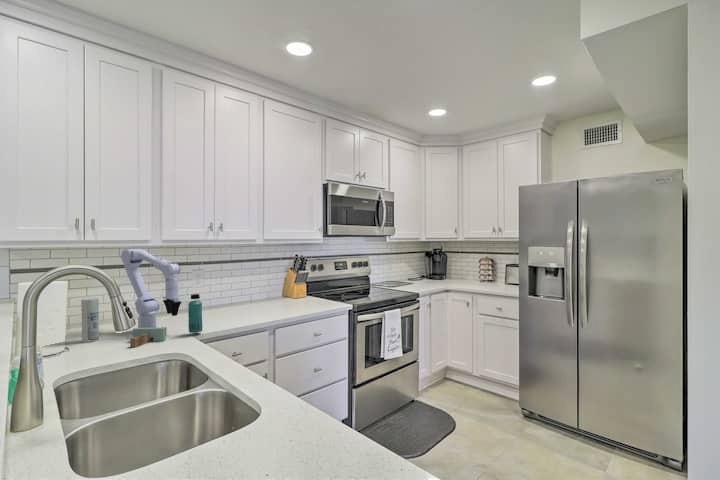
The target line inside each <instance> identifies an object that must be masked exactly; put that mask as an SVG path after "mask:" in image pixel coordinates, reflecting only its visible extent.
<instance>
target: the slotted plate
mask: <svg viewBox="0 0 720 480" xmlns="http://www.w3.org/2000/svg"><path fill="white" fill-rule="evenodd" d="M166 333H167V327H166V326H162V328H161V327H156V328H138V327H134V328H133V329H132V338H133V337H136V336H138V335H141V334H148V337H154V340H153V342H156V343H157V342H165V341H166V340H167V339H166V338H167V337H166V336H167V335H166Z"/></svg>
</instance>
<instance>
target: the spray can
mask: <svg viewBox="0 0 720 480" xmlns="http://www.w3.org/2000/svg"><path fill="white" fill-rule="evenodd" d="M99 301H100V300H99V297H85V298H82V299H81V301H80V302H81V304H80V305H81V306H80V307H81V308H80V309H81V337H82V338H81V339H82V343H84V344H86V343H95V342H98V341H99V340H100V330H99V329H100V327H99V326H100V322H99V321H100V319H99V316H100V314H99V313H100V312H99V311H100V310H99V309H100V308H99V305H100V303H99Z"/></svg>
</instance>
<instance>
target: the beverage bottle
mask: <svg viewBox="0 0 720 480" xmlns="http://www.w3.org/2000/svg"><path fill="white" fill-rule="evenodd" d="M200 297H201V296H200V294H199V293H194V294H191V295H190V300H191V301H190V302H188V303H187V304H188V308H187V309H188V315H187V316H188V332H189V333H190V334H196V333H200V332H202V331H203V302H202V301H200V300H198V299H201V298H200Z"/></svg>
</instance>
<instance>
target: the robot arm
mask: <svg viewBox="0 0 720 480" xmlns="http://www.w3.org/2000/svg"><path fill="white" fill-rule="evenodd" d="M120 259H121V261H122V264H123V266H124V270H125V272H126V274H127V277H128V280H129V282H130V284H131V287H132V288H133V290H134V293H135V295H136V297H137V299H136V301H135V302H134V305H135V311H136V313H137V314H138V318H137V323H138V324H137V328H157V314H158V311H159V310H160V308H161V305H160V301H158V299H156V297H155V296H154V295H152V294H151V293H150V292H149V290H148V288H147V286H146V283H145V281H144V279H143V277H142V274H141V272H140V270H139V267H140V266H141V264H142V263H143V262H144V261H145V262H147V263H150V264H152V266H153V268H155V269H157V270H159V271H160V272H162V274H163V278H164V283H165V287H164V288H165V290H164V291H165V293H164V295H165V296H162V299H163V300H162V302H163V304H164V306H165V310H166V314H168V315H169V314H170V315H172V317H174V316H175V317H176V316H178V313H179V309H180V306H181V304H182V301H180V300H179V299H180V298H179V297H180V296H179V274H180V273H181V269H182V268H181V266H180V265H179V264H178V263H176V262H175V263H172V261H168V260H166V259H165V258H164V257H163V256H162V257H161V256H160V257H155V256H154V255H152V254H151V253H149V252H148V251H147V250H146V249H144V248H129V249H128V248H125V249H123V250H122V252H121V253H120Z"/></svg>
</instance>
